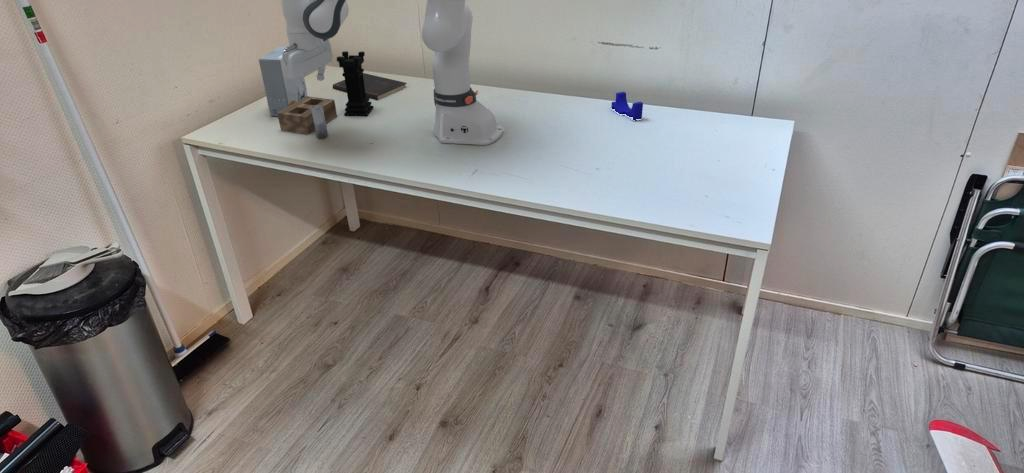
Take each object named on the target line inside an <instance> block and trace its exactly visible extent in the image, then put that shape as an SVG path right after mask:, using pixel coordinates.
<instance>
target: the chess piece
mask: <svg viewBox="0 0 1024 473" xmlns="http://www.w3.org/2000/svg"><path fill="white" fill-rule="evenodd" d="M341 54H342V56H341V55H340V56H336V62H337V63H338V65H339V68H342V71H343V72H342V73H341V74H342V77H344V78H343V79H344V80H345V84H346V90H347V93H346V94H347V96H346V97H347V102H346V103H345V108H344V111H345V112H344V114H343V116H344V117H361V118H362V117H365V118H366V117H369V115H370V113H371V112H372V111H373V110H374V107H375V106H374V105H372V104H373V103H372V101H370V100H371V99H370V98H366V92H365V86H364V79H363V73H365V70H364V69H365V68H363V67H362V66H363V65H362V64H363V63H364V62H365V58H364V57H365V56H366V55H365V51H358V53H357V54H358V55H357V54H356V55H355V54H353V55H350V54H349V51H345V50H344V51H342V52H341Z"/></svg>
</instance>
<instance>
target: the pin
mask: <svg viewBox="0 0 1024 473" xmlns="http://www.w3.org/2000/svg"><path fill="white" fill-rule="evenodd" d="M311 111H312V116H313V121H314V126H315V131H314V132H315V135H316V138H317V139H319V140H324V139H327V138H328V137H329V134H328V133H329V132H328V128H327V123H326V121H325V116H324V110H323V106H322V105H314V106H312V107H311Z"/></svg>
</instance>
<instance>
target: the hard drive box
mask: <svg viewBox="0 0 1024 473" xmlns="http://www.w3.org/2000/svg"><path fill="white" fill-rule="evenodd" d="M286 47H287V46H284V45H283V46H282V45H281V46H278V47H276V48H274V49H273V50H271V51H270V52H268V53H267V54H265V55H263V56H261V57H260V58H258V63H259V67H260V73H261V78H262V81H263V87H264V92H265V97H266V101H267V106H268V110H269V115H270V116H271V117H278V114H277V113H278V112H280V111H282V110H283V109H285V108H287V107H289V106H290V105H292V104H294V103H296V102H298V101H299V100H301V99H303V98H305V97H306V96H308V91H307V89H306V90H304V91H300V90H299V89H298V85H297V84H296V82H295V81H294V80H288V79H286V78H285V77H284V75H283V69H282V53H283V52H284V49H285V48H286ZM285 52H286V51H285ZM302 78H303V80H302V82H303V84H306V80H305V75H304V76H302Z"/></svg>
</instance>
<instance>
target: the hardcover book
mask: <svg viewBox="0 0 1024 473" xmlns="http://www.w3.org/2000/svg"><path fill="white" fill-rule="evenodd" d="M363 79H364V86H365V92H366V98H369V99H370V100H374V101H379V100H380V99H383V98H385V97H388V96H390V95H393V94H394V93H397V92H399V91H401V90H403V88H404V89H406V87H407V86H406V85H407V82H405V81H401V80H396V79H392V78H387V77H383V76H377V75H374V74H370V73H365V72H363ZM332 89H333V90H334V89H335V91H338V90H339V92H343V93H346V94H347V90H346V84H345V79H344V80H340V81H339V82H338V81H337V82H335V83H333V84H332Z"/></svg>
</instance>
